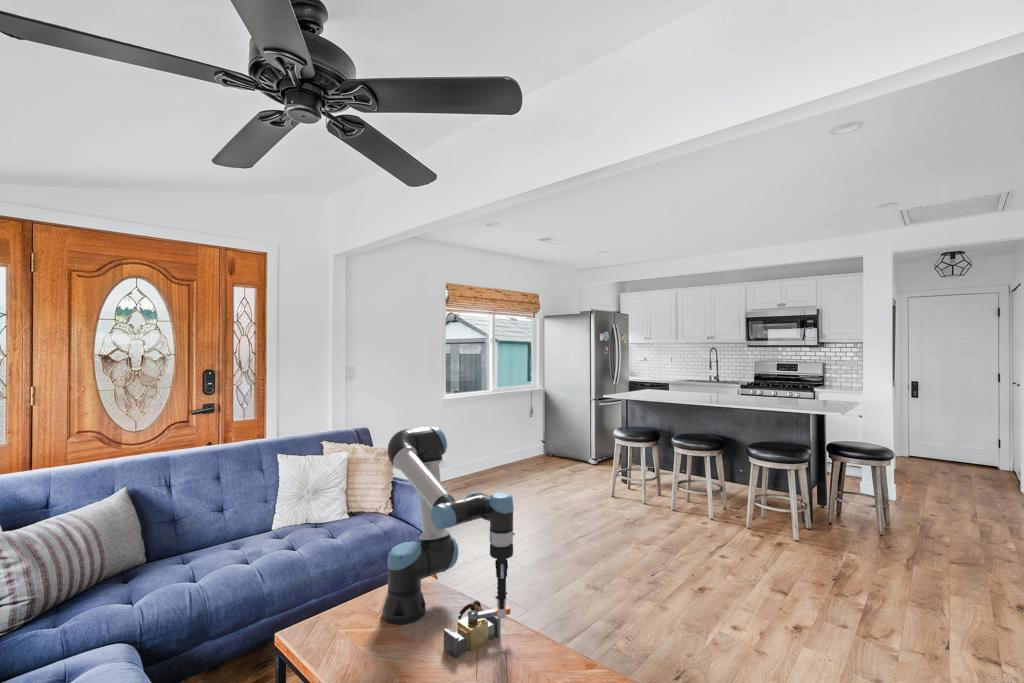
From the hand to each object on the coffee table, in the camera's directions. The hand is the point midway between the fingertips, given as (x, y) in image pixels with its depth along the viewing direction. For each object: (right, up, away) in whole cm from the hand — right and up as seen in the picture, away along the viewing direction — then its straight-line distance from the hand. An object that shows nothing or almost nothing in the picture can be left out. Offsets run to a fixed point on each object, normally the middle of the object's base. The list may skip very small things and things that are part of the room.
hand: (501, 617), depth 159 cm
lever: (-4, -1, +2) cm, 5 cm away
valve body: (-9, -9, 0) cm, 13 cm away
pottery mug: (-10, -9, +11) cm, 17 cm away
